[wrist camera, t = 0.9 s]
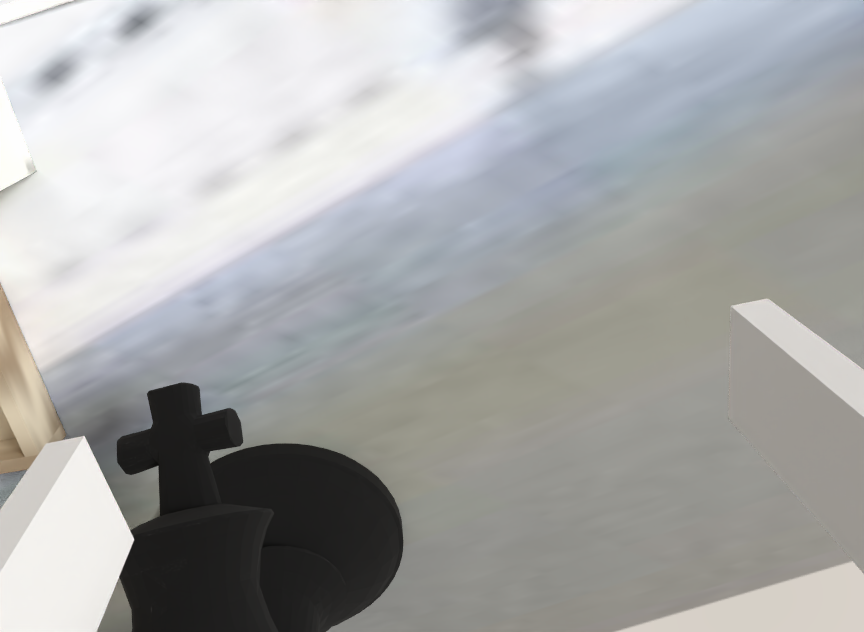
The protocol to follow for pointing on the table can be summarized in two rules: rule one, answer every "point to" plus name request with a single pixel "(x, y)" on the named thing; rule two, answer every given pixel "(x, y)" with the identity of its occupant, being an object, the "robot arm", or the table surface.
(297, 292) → the table surface
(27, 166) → the pen cup
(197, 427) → the sculpture
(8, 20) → the photo frame
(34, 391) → the birch tray
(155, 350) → the table surface
